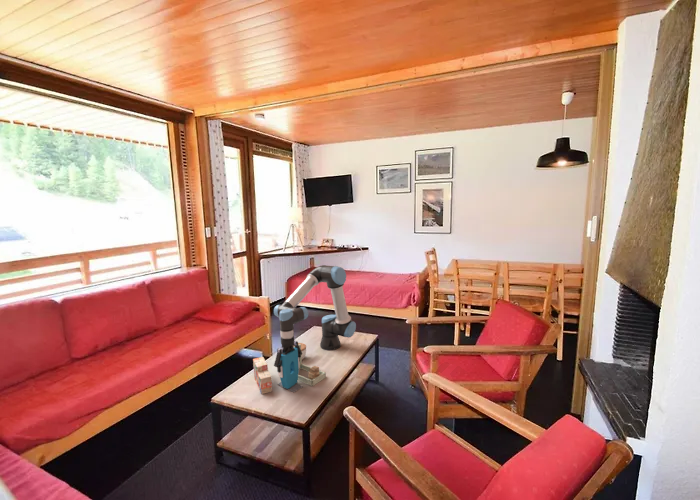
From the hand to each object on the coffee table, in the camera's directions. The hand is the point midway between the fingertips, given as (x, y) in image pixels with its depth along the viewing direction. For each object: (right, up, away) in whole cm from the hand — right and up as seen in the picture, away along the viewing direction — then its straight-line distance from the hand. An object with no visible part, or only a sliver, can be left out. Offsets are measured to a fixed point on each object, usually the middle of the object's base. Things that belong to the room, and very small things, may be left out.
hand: (289, 372), depth 186 cm
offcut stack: (+14, -7, +7) cm, 17 cm away
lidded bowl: (-1, -4, +34) cm, 34 cm away
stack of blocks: (-17, -9, +4) cm, 19 cm away
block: (0, -8, +1) cm, 8 cm away
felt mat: (0, -8, +1) cm, 8 cm away
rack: (+8, -7, +11) cm, 15 cm away
